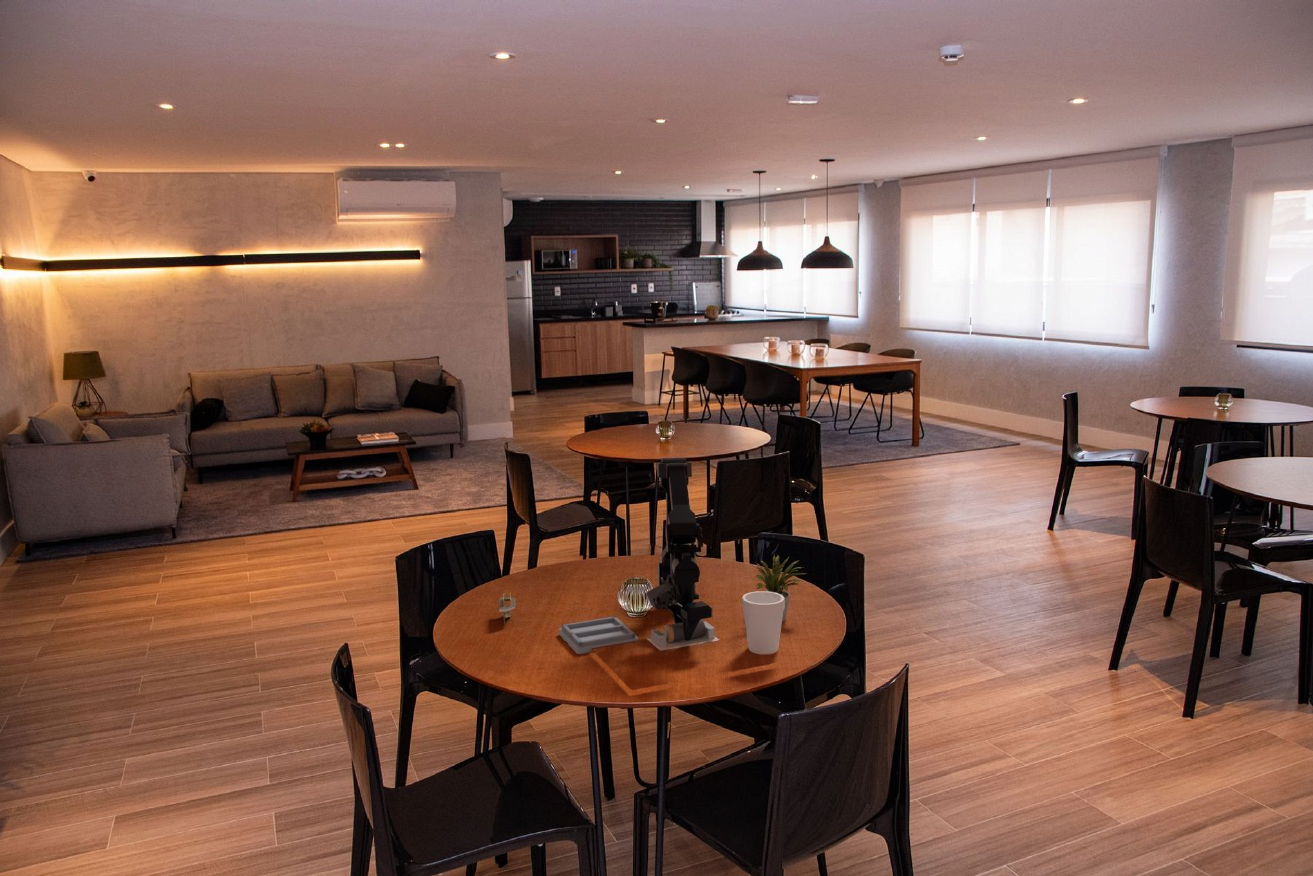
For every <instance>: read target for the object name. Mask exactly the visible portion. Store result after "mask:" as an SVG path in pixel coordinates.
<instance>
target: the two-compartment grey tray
mask: <svg viewBox="0 0 1313 876" xmlns="http://www.w3.org/2000/svg"><path fill="white" fill-rule="evenodd" d="M558 635H559V636H560V637H561V638H562V640H563V641H566V642H567V643H568V644H567V643H566V642H565V643H566V644H567V645H568V646H569V647H570V649H572V650H573V651H574V653H575V654H576V655H577V654H579V655H583V654H584V655H585V654H590V653H595V652H596V651H595V650H594V648H596V649H597V648H601V647H608V646H614V645H619V644H626V643H630V642H631V643H632V642H637V641H639V640H640V638H639V637H638V636H637V635H636V633H635V632H634V631H633V630H631V628H629V627H628V626H627V625H625V623H623V622H622V621H621V619H619V618H618V617H617V616H610V617H603V618H595V619H591V620H584V621H578V622H571V623H564V624H562V625H561V628H558Z"/></svg>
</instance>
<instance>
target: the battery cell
mask: <svg viewBox="0 0 1313 876" xmlns="http://www.w3.org/2000/svg"><path fill="white" fill-rule="evenodd" d="M704 622H705V621H704V619H701V620H700V621H699V623H698V625H697V627H696V629H695V631H694V633H693V635H692V637H691V639H692V638H698V637H704V636H705V633H706V628H705V624H704ZM661 633H663V634H664V635H665V636H666V642H668V643H669V642H674V641H680V640H685V636H684V629H683V622H681V623H670V624H665V625H664V626H663V629H662V631H661Z"/></svg>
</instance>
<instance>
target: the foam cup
mask: <svg viewBox="0 0 1313 876" xmlns="http://www.w3.org/2000/svg"><path fill="white" fill-rule="evenodd" d="M741 608H742V610H743V611H742V612H743V619H744V625H745V633H746V640H747V646H748V647H747V648H748V650H749V651H750V652H751V653H753V654H757V655H772V654H775V653H777V652H778V650H779V646H780V645H779V644H780V638H781V637H780V636H781V632H782V631H781V630H782V623H783V621H782V617H783V610H784V608H785V598H784V597H783V595H781V594H778V593H775V592H769V591H767V590H763V591H762V590H758V591H752V592H751V591H750V592H748V593H745V594H743V596H742V597H741Z"/></svg>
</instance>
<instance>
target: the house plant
mask: <svg viewBox="0 0 1313 876" xmlns="http://www.w3.org/2000/svg"><path fill="white" fill-rule="evenodd" d="M790 556H791V555H790ZM790 556H788V557H787V558H786V559H785V560H784V561H783V562H782V563H781V562H780V555H777V556H776V554H775V553H774V554H773V557H772V570H771V569H770V567H769V565H768V564H767V563H766V562H764V561H763V560H761V559H759V562H761V564H762V566H761V565H760V564H759V563H757V565H758V566H756V565H754V568H756V569H757V570H758V571H759V573H760V574H755V575H754V577H755V578H757V579H759V580H761V581H762V582H763V583H764V584H763V583H762V582H758V583H757V584H756V586H755V587H756V590H758V589H762V588H766V591H769V592H775V593H778V594H781V595H783V597H784V598H785V608H784V610H783V617H782V622H783V621H785V620H786V619H787V615H788V614H787V613H788V609H789V608H788V606H789V602H790V596H791V594H790V593H789V592H788V590H789V587H790V586H800V584H801V583H802V580H801V579H793V577H796V576H798V575H799V576H800V575H807V573H806V572H805V573H803V572H799V570H797V569H802V568H805V567H804V566H802V567H801V566H798V567H793V566H794V565H795V564H797V563H798V562H799V561H800V560H797V561H793V562H792V563H791V564H789V566H787V567H786V569H784V571H783V568H784V567H785V565H786V563H787V561H788V560H789V558H790ZM762 567H763V568H762ZM795 569H796V570H795ZM782 571H783V572H782ZM792 572H794V573H792ZM790 578H792V579H790ZM789 579H790V580H789ZM798 582H799V583H800V584H799V583H798Z"/></svg>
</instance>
